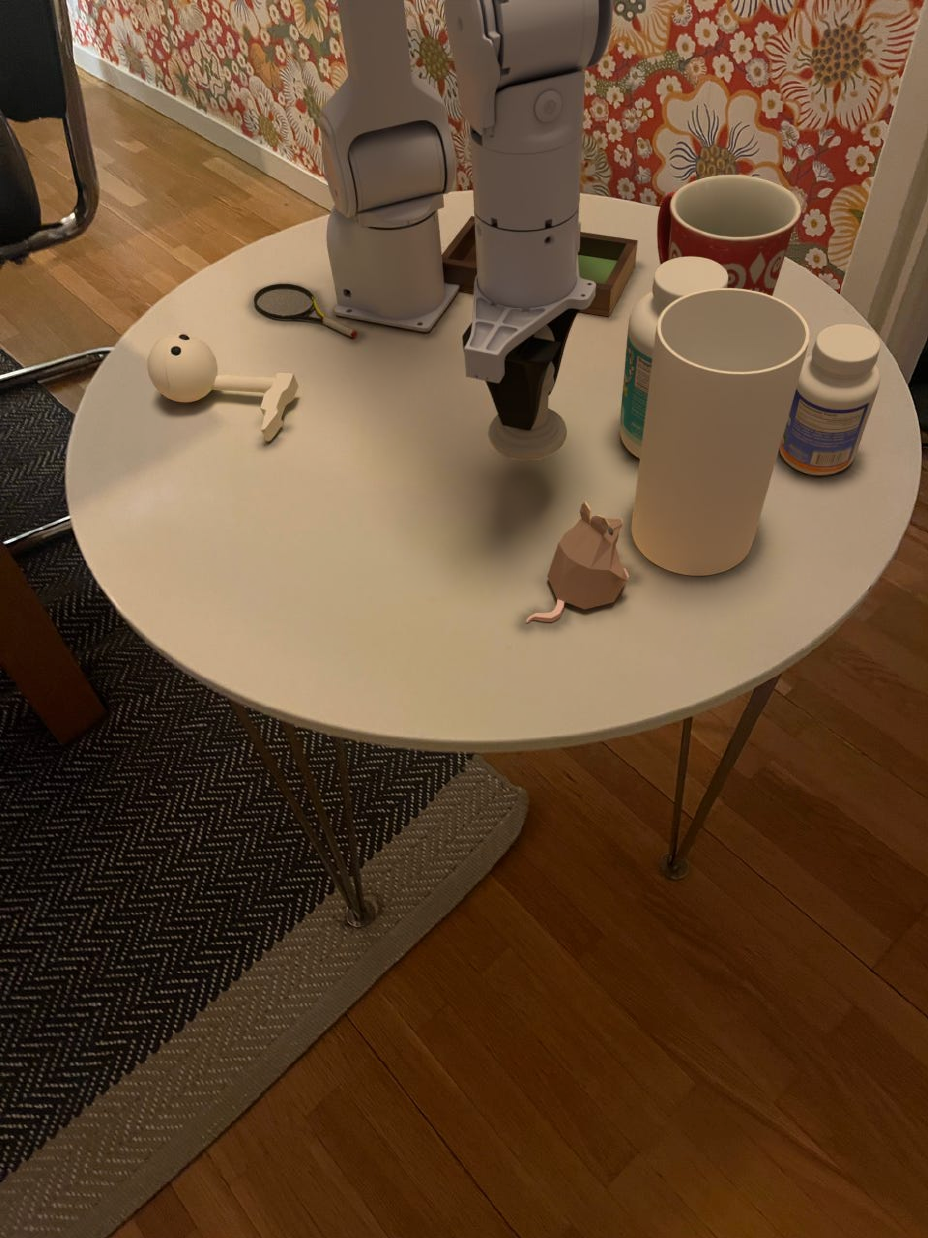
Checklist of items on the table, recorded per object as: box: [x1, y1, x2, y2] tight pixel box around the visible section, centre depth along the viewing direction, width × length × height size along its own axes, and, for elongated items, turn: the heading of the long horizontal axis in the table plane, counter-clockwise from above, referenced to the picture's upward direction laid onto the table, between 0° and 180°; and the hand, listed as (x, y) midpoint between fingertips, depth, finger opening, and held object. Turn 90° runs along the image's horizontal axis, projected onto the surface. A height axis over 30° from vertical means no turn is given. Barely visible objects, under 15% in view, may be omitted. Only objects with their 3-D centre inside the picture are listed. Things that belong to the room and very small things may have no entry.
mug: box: [656, 174, 802, 297], centre depth 68 cm, size 13×9×14 cm
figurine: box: [146, 332, 299, 442], centre depth 71 cm, size 8×6×12 cm
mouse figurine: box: [525, 501, 630, 624], centre depth 56 cm, size 5×8×7 cm, turn 127°
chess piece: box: [487, 324, 568, 462], centre depth 57 cm, size 5×5×9 cm
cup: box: [631, 288, 810, 577], centre depth 55 cm, size 8×8×16 cm
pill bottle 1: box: [619, 257, 728, 459], centre depth 62 cm, size 8×7×14 cm
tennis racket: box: [253, 283, 358, 339], centre depth 80 cm, size 12×1×5 cm
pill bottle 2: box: [779, 323, 881, 476], centre depth 61 cm, size 5×5×10 cm
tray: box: [442, 215, 639, 317], centre depth 81 cm, size 9×16×3 cm, turn 68°
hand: (527, 407), depth 58 cm, fingers closed on chess piece, 3 cm apart
